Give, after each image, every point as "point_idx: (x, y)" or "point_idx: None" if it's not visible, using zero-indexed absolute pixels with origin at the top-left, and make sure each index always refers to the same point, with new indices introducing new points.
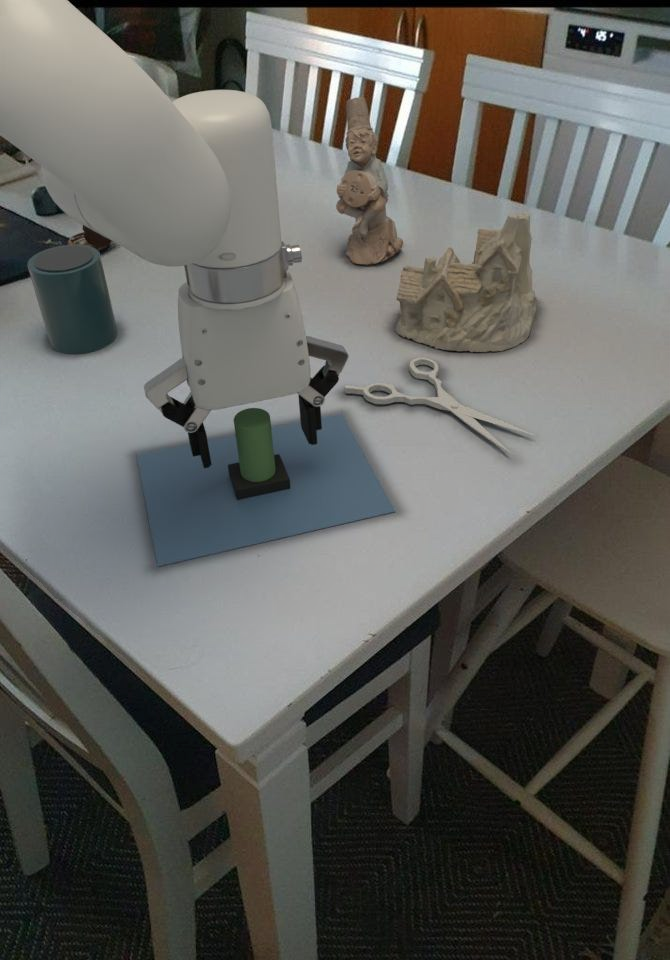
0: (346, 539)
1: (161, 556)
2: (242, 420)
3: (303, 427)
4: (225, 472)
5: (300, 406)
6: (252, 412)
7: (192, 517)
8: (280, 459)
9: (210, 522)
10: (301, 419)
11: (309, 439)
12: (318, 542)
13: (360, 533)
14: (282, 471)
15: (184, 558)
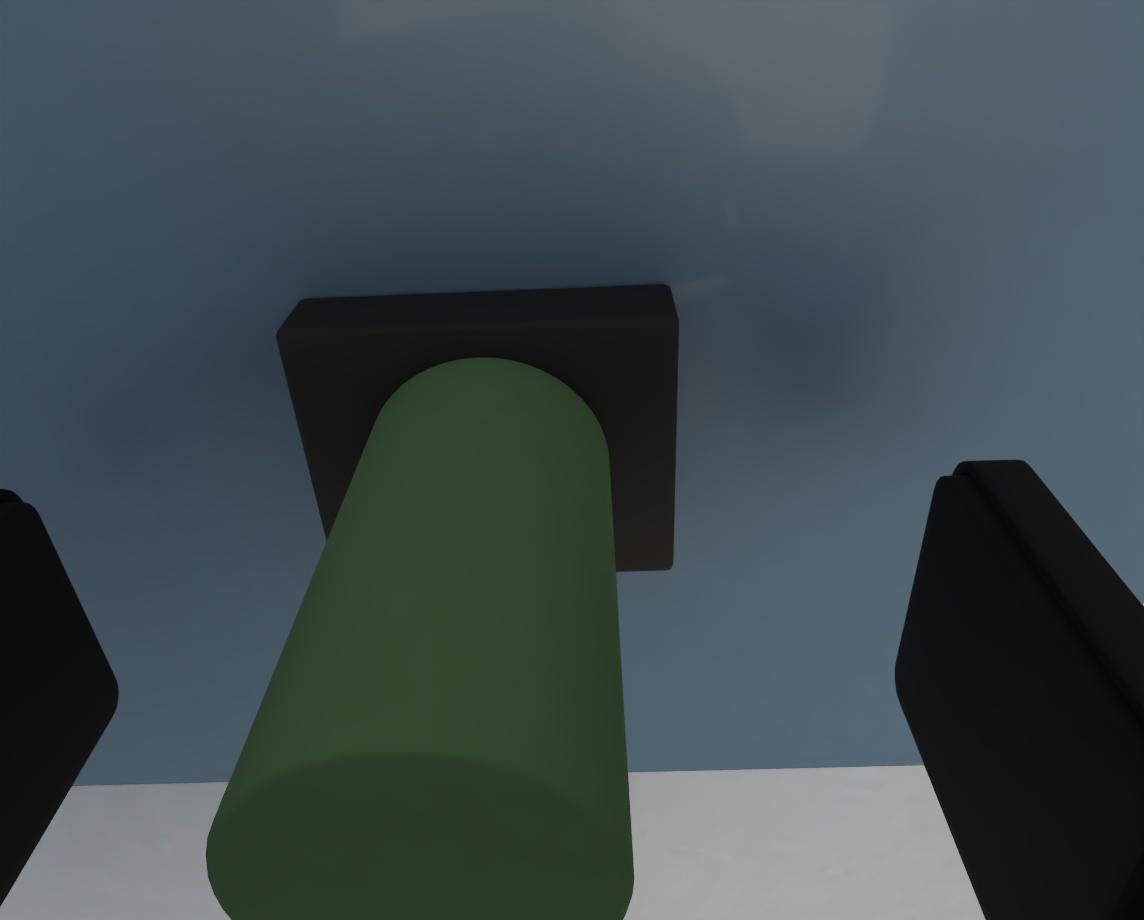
0: (798, 820)
1: None
2: (310, 901)
3: (943, 595)
4: (273, 272)
5: (1055, 713)
6: (438, 824)
7: (109, 589)
8: (668, 388)
9: (211, 640)
10: (977, 584)
11: (912, 729)
12: (684, 810)
13: (866, 809)
14: (647, 505)
15: (119, 778)
